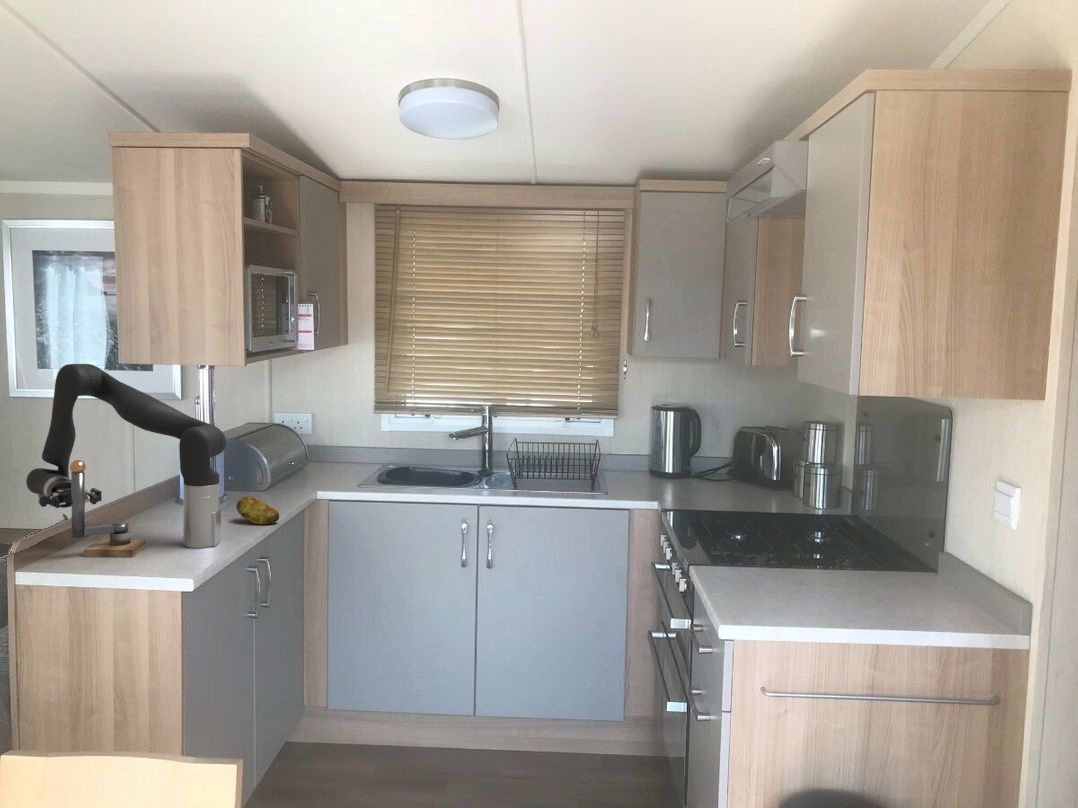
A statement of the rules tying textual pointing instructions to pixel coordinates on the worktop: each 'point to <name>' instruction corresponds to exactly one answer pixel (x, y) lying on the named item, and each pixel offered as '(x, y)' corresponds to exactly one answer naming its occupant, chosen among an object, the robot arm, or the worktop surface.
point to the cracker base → (115, 546)
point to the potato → (257, 511)
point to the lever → (79, 507)
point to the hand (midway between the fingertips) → (76, 502)
